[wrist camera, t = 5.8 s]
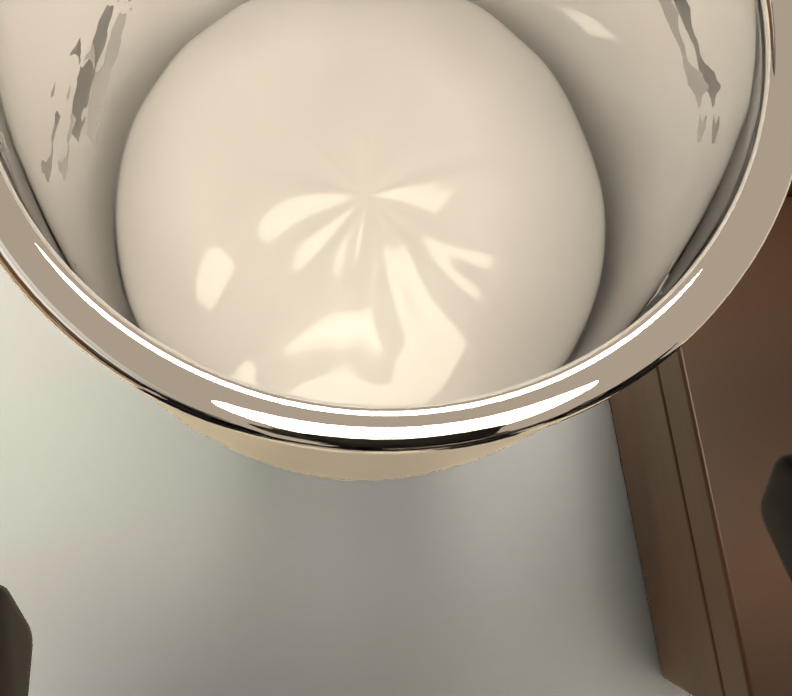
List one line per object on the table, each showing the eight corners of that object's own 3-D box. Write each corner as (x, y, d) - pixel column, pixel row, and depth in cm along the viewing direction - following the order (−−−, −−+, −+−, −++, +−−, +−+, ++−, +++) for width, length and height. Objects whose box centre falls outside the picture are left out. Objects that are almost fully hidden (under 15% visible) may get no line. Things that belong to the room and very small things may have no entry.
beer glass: (225, 484, 19) (-136, 531, 5) (216, 225, 20) (-103, -406, 6) (492, 465, 20) (921, 450, 5) (469, 213, 21) (770, -388, 6)
